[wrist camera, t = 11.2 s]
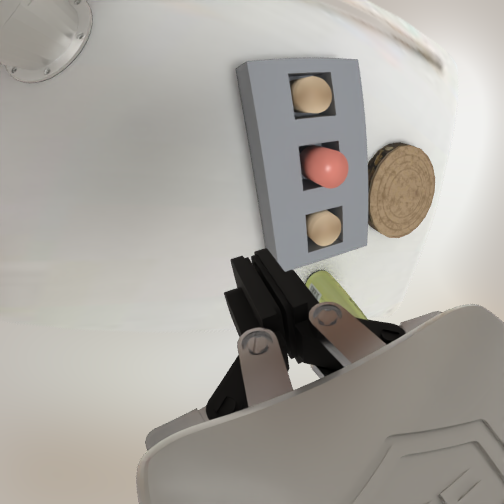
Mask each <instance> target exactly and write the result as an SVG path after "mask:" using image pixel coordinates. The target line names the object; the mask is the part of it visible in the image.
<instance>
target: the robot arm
mask: <svg viewBox="0 0 504 504" xmlns="http://www.w3.org/2000/svg"><path fill="white" fill-rule="evenodd" d="M91 27H92V12H91V8H90V7H89V5H88V3H87V2H86V1H85V0H0V64H3V65H5V66H6V68H7V71H8V72H9V74H10V75H11V76H12V77H13V78H15V79H16V80H18V81H21V82H27V83H36V82H40V81H44V80H47V79H49V78H51V77H53V76H55V75H56V74H58V73H59V72H61V71H62V70H63V69H65V68H66V67H67V66H68V65H69V64H70V63H71V62H72V61H73V60H74V59H75V58H76V57H77V55H78V54H79V53H80V51H81V50H82V48H83V47H84V45H85V43H86V41H87V39H88V37H89V34H90V31H91ZM82 36H83V38H82V39H80V38H81V37H82ZM49 71H50V73H49V74H48V72H49ZM251 259H252V263H251V261H250V259H249V258H248V257H247V258H244V257H243V256H240V257H237V258H234V259H231V264H232V268H233V272H234V276H235V280H236V284H237V288H236V289H233V290H230V291H227V292H224V295H225V298H226V302H227V305H228V308H229V311H230V314H231V317H232V320H233V322H234V325H235V327H236V330H237V332H238V335H239V337H240V338H239V340H238V342H237V344H238V345H237V348H238V353H239V355H238V357H237V358H236V360H235V362H234V363H233V364H232V366H231V368H230V369H229V371H228V372H227V374H226V375H225V377H224V378H223V380H222V381H221V383H220V384H219V386H218V388H217V389H216V390H215V392H214V393H213V395H212V397H211V398H210V399H209V401H208V403H207V405H206V406H205V407H203V408H202V409H200V410H197V408H196V409H194V410H192V411H191V412H189V413H186V414H184V415H182V416H180V417H179V418H176V419H174V420H172V421H170V422H168V423H166V424H164V425H162V426H159V427H157V428H155V429H154V430H152V431H151V432H150V433H149V434H148V436H147V437H146V441H145V444H146V448H147V450H148V451H147V452H146V453H145V455H144V456H143V457H142V458H141V460H140V462H139V464H138V468H137V477H136V479H137V480H136V483H137V494H138V502H139V504H504V322H502V321H501V320H500V319H499V318H498V317H497V316H495V315H494V314H493V313H492V312H490V311H489V310H487V309H486V308H484V307H482V306H479V305H475V304H471V305H463V306H458V307H455V308H452V309H449V310H447V311H444V312H439V311H437V312H432V313H429V314H426V315H423V316H420V317H417V318H414V319H411V320H408V321H404V322H401V323H400V325H399V326H398V325H395V324H391V323H385V322H379V321H372V320H367V319H361V318H355V317H354V316H353V315H352V314H351V313H349V312H348V311H347V310H346V309H345V308H343V307H342V306H341V305H339V304H338V303H334V302H321V303H319V302H318V300H317V299H316V298H315V297H314V295H313V294H312V293H311V291H310V290H309V289H308V288H307V286H306V285H305V284H304V283H303V281H302V280H301V279H300V278H299V276H298V275H297V274H296V273H295V271H294V270H289V271H286V272H285V271H284V270H283V269H282V267H281V266H280V265H279V263H278V262H277V261H276V259H275V258H274V257H273V255H272V254H271V253H270V251H269V250H268V249H267V248H265V249H262V250H258V251H255V255H253V256H251ZM287 353H288V355H289V357H290V358H291V359H293V358H295V359H296V361H297V362H298V364H299V363H301V362H304V363H307V364H310V365H311V368H312V369H313V371H314V372H315V373H316V374H317V375H318V376H319V378H320V379H319V380H316V381H314V382H312V383H310V384H307V385H305V386H303V387H300V388H298V389H296V390H293V388H292V385H291V382H290V378H289V375H288V370H289V364H288V355H287Z"/></svg>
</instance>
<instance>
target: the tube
mask: <svg viewBox="0 0 504 504" xmlns="http://www.w3.org/2000/svg"><path fill="white" fill-rule="evenodd" d="M306 286H307V288H308V289H309V290H310V291H311V293H312V294H313V295H314V297H315V298H316V299H317V300H318V302H319V303H321V302H334V303H338V304H339V305H341V306H342V307H343V308H345V309H346V310H347V311H348V312H349V313H351V314H352V315H353V316H354V317H355V318H361V319H367V318H366V316H365V315H364V314H363V312H362V311H361V310H360V308H359V307H358V306H357V305H356V303H355V302H354V301H353V300H352V299H351V297H350V296H349V295H348V294H347V293H346V291H345V290H344V289H343V288H342V287H341V286H340V285H339V283H338V282H337V281H336V280H335V279H334V278H333V277H332V276H331V275H330V274H329V273H328V272H326V271H318V272H315V273H314V274H312V275H311V276H310V277H309V279H308V280H307V282H306ZM367 320H368V319H367Z"/></svg>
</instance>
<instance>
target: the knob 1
mask: <svg viewBox="0 0 504 504" xmlns="http://www.w3.org/2000/svg"><path fill="white" fill-rule="evenodd" d="M289 83H290V89H291V96H292V102H293V109H294V112H298V113H321V112H323V111H325V110H326V109H327V108H328V107H329V105H330V103H331V100H332V93H331V89H330V87H329V85H328V84H327V83H326V82H325V81H324V80H323V79H321V78H319V77H316V76H310V77H305V78H300V79H295V80H291V81H289Z"/></svg>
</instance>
